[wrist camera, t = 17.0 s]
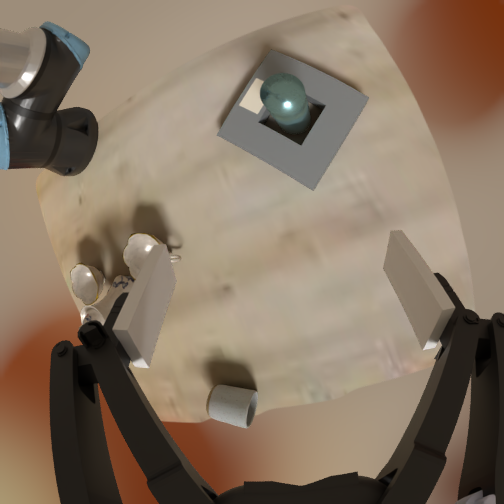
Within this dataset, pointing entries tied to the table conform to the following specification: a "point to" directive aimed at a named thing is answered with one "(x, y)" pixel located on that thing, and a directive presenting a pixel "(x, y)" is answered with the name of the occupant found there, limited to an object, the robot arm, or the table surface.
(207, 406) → the ceramic mug
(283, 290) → the table surface
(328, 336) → the table surface
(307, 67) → the socket block
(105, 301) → the chinaware
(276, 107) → the teal cylinder
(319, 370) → the table surface
